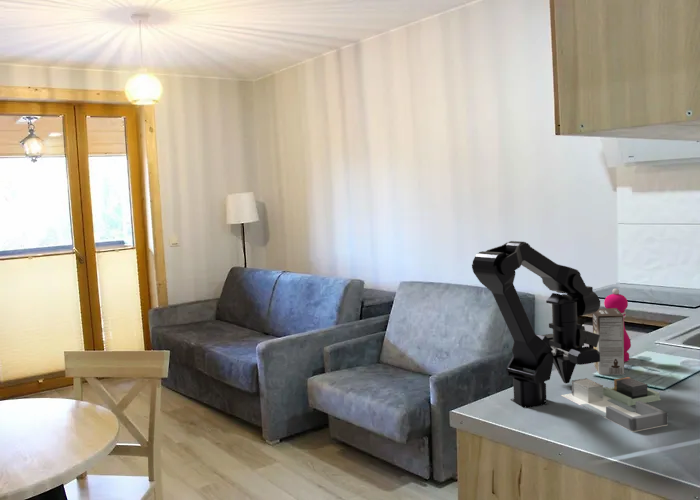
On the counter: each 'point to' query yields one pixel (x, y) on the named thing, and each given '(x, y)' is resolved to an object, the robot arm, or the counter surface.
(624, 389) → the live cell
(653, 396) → the pale green square tray
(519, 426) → the counter surface
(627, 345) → the pepper mill
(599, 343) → the coffee box
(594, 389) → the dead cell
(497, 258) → the robot arm
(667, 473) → the counter surface
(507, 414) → the counter surface
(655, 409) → the long white tray
